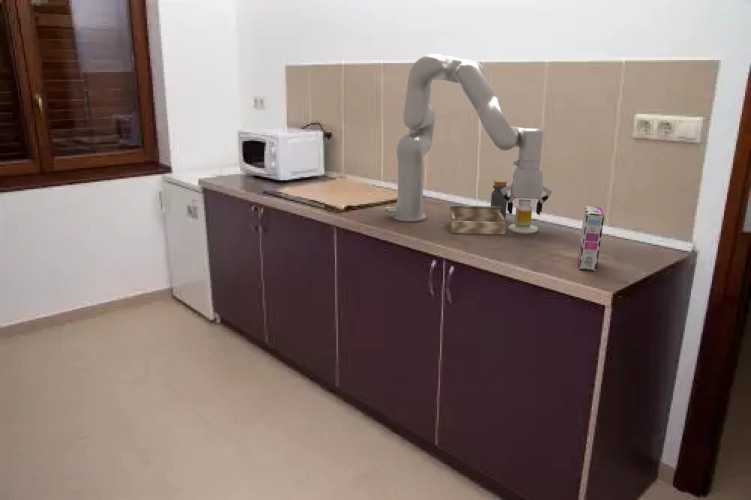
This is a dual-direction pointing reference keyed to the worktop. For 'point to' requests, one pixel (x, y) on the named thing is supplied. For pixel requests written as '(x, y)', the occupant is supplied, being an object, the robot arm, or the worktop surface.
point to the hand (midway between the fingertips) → (524, 213)
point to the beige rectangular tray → (476, 220)
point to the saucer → (524, 231)
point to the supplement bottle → (523, 214)
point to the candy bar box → (590, 238)
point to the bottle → (499, 196)
